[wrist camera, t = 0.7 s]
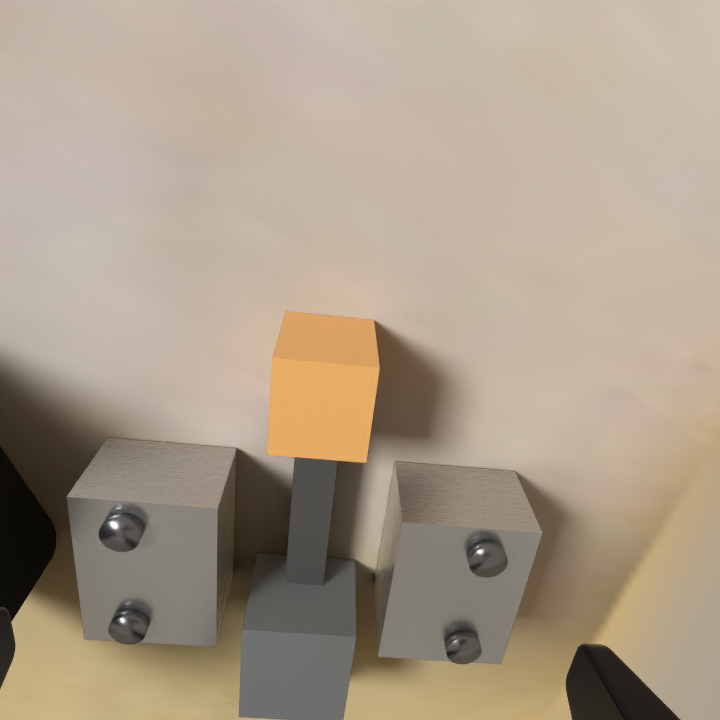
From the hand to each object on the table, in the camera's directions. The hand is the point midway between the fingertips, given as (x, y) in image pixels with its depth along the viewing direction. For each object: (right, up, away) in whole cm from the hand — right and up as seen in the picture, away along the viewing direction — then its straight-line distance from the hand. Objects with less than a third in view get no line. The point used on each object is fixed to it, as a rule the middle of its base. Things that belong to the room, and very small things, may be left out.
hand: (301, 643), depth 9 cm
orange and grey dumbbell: (-1, -1, +12) cm, 12 cm away
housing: (-1, -2, +12) cm, 12 cm away
